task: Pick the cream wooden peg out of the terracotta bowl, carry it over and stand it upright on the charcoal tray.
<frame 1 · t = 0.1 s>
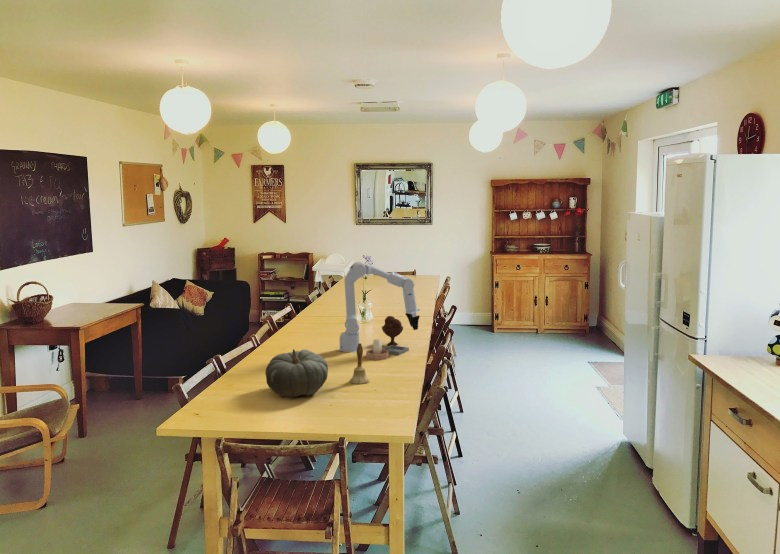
hand: (414, 327, 307), 11 cm above the table, fingers open, 7 cm apart
gourd: (298, 392, 240), on the table
peg: (377, 356, 290), resting on terracotta bowl
tray: (394, 352, 301), on the table
terracotta bowl: (377, 357, 290), on the table
hand bell: (359, 381, 254), on the table
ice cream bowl: (392, 345, 316), on the table
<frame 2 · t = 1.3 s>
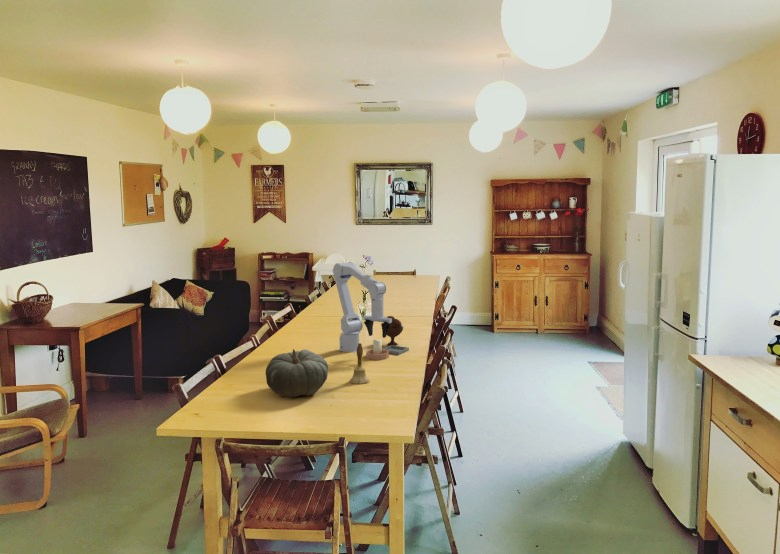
hand: (377, 336, 289), 10 cm above the table, fingers open, 7 cm apart
nothing on the table moved.
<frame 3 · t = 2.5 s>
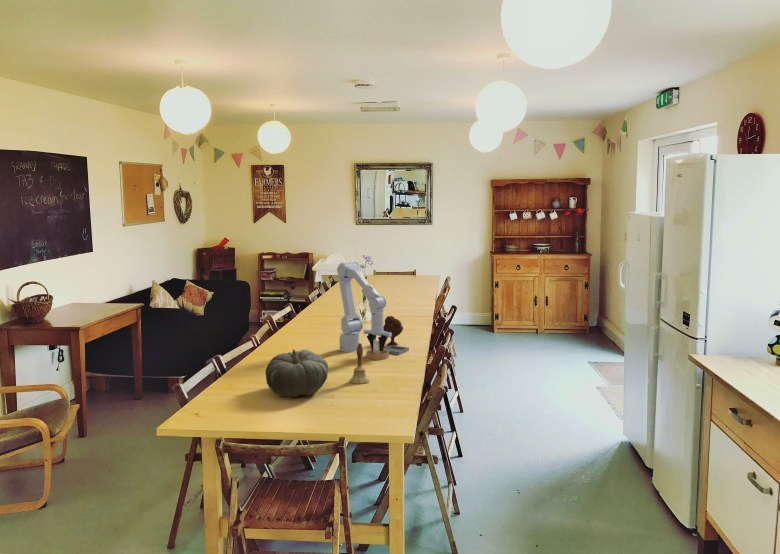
hand: (377, 350, 290), 4 cm above the table, fingers closed on peg, 4 cm apart
peg: (377, 356, 290), resting on terracotta bowl, touching gripper
everything else where it was.
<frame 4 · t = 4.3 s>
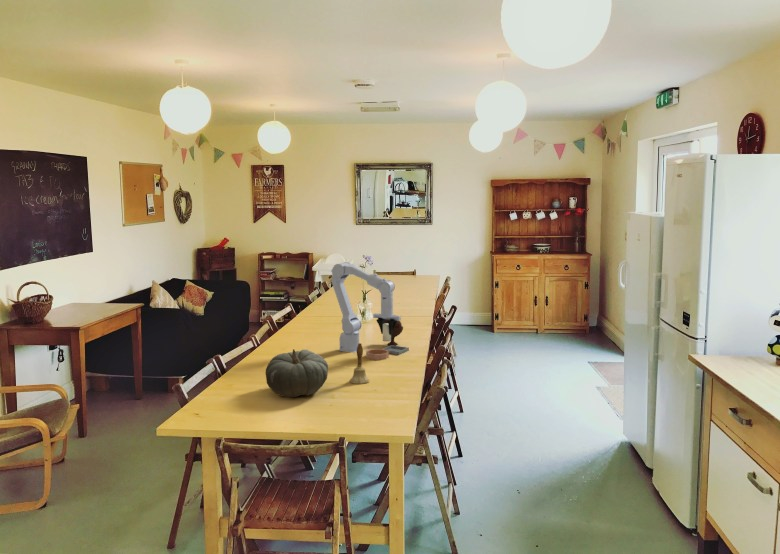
hand: (387, 333, 294), 10 cm above the table, fingers closed on peg, 4 cm apart
peg: (386, 340, 295), point 7 cm above the table, touching gripper
everything else where it was.
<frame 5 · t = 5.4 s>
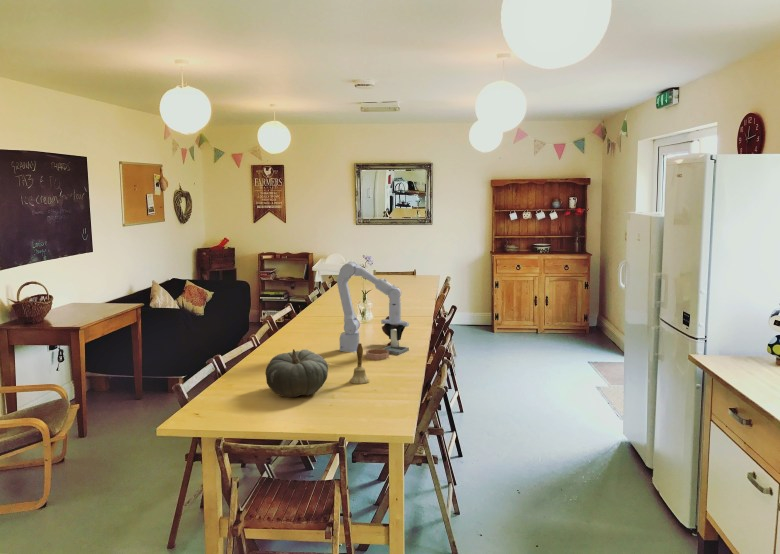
hand: (394, 339, 300), 7 cm above the table, fingers closed on peg, 4 cm apart
peg: (394, 345, 300), point 3 cm above the table, touching gripper
everything else where it was.
when the fingers open (6 cm above the table, at t = 6.0 s): peg drops 1 cm, resting on tray.
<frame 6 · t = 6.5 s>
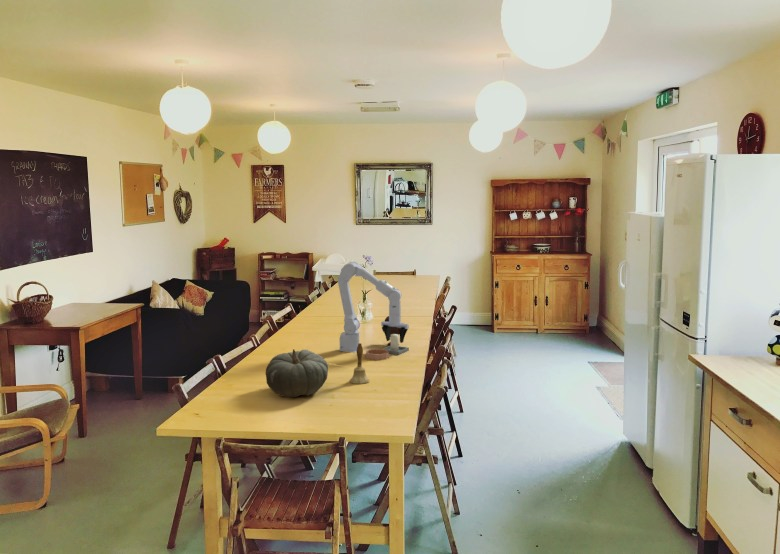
hand: (394, 341, 300), 6 cm above the table, fingers open, 7 cm apart
peg: (394, 350, 300), point 1 cm above the table, touching tray
everything else where it was.
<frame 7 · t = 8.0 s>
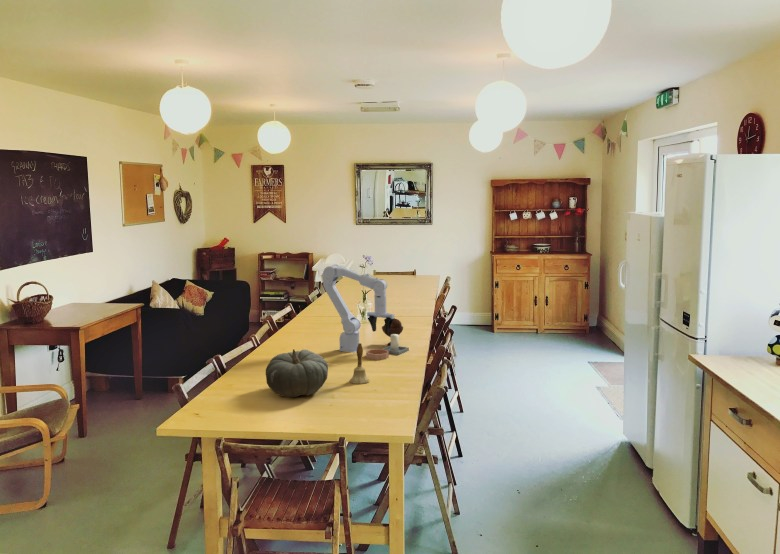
hand: (380, 331, 299), 10 cm above the table, fingers open, 7 cm apart
nothing on the table moved.
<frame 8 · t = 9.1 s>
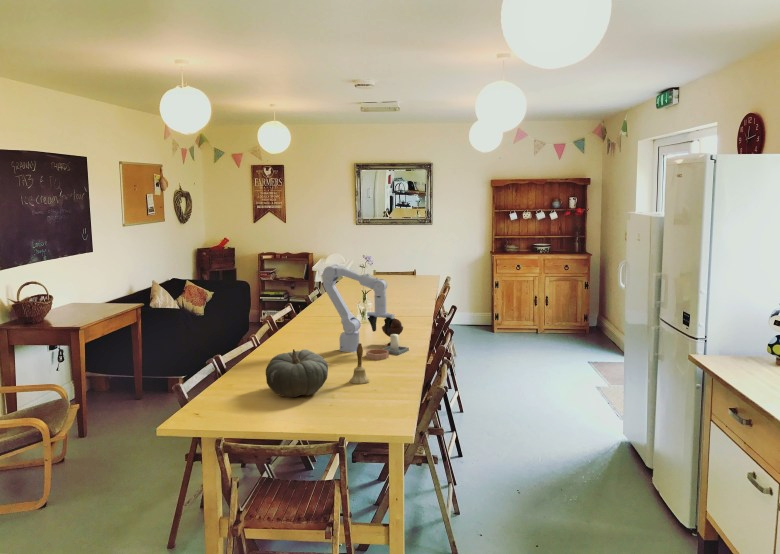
hand: (380, 331, 299), 10 cm above the table, fingers open, 7 cm apart
nothing on the table moved.
at the end: peg inside the target area on the tray (0.2 cm from its centre), point 0.8 cm above the tray's base; peg tilted 1°; the gripper is holding nothing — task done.
